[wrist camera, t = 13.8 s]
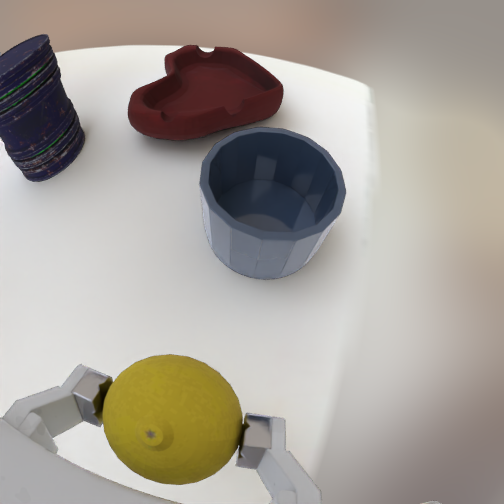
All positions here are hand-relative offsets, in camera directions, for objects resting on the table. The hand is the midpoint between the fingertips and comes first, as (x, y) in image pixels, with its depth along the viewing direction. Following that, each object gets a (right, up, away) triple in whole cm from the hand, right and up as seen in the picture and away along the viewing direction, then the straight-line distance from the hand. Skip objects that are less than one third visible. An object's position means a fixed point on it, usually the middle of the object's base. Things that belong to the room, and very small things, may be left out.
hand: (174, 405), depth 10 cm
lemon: (0, -2, +4) cm, 5 cm away
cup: (+4, +8, +16) cm, 19 cm away
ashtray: (-2, +24, +23) cm, 33 cm away
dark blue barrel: (-22, +19, +19) cm, 34 cm away
